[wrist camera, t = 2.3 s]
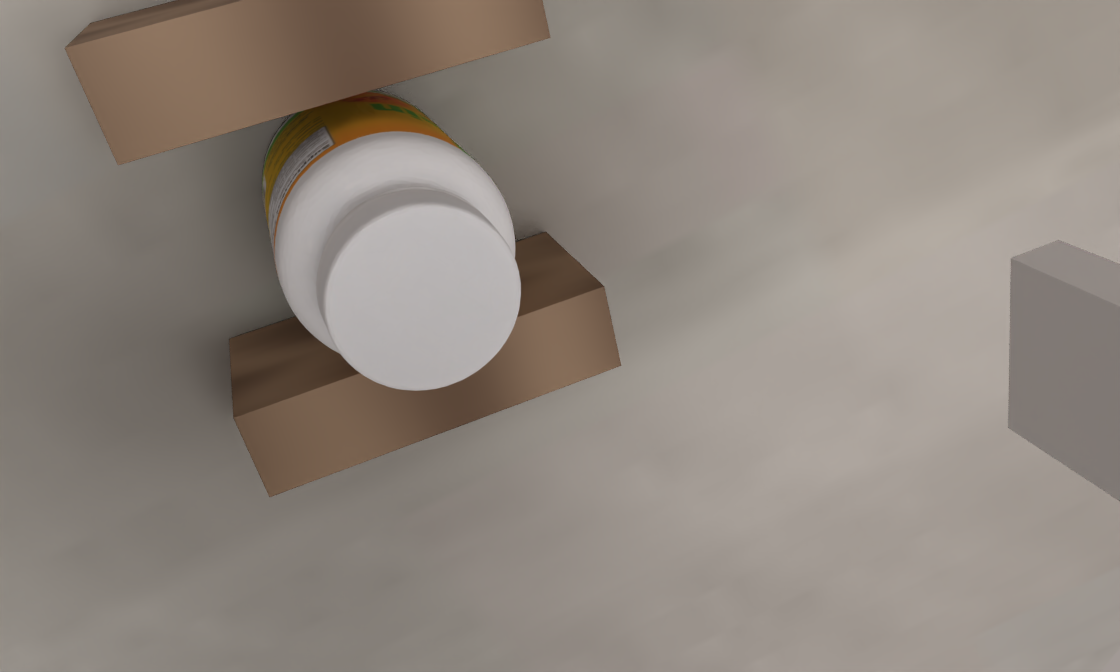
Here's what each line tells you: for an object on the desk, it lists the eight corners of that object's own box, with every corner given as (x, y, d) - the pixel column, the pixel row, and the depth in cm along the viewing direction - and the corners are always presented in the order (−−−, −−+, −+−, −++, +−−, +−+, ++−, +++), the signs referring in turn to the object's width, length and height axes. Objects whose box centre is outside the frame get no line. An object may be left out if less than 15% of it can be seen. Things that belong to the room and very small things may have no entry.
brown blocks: (260, 409, 29) (269, 497, 24) (90, 23, 23) (64, 47, 19) (562, 301, 31) (621, 365, 26) (471, -78, 25) (526, -76, 21)
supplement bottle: (486, 156, 28) (606, 260, 20) (383, 302, 29) (457, 463, 20) (330, 44, 25) (391, 109, 17) (221, 207, 26) (229, 347, 18)
